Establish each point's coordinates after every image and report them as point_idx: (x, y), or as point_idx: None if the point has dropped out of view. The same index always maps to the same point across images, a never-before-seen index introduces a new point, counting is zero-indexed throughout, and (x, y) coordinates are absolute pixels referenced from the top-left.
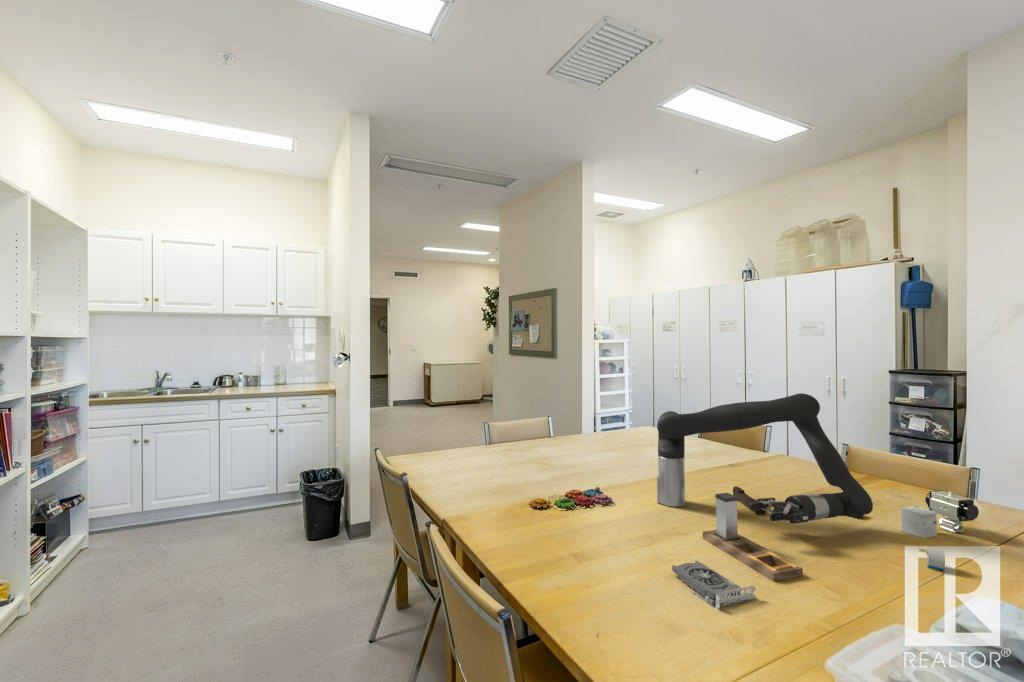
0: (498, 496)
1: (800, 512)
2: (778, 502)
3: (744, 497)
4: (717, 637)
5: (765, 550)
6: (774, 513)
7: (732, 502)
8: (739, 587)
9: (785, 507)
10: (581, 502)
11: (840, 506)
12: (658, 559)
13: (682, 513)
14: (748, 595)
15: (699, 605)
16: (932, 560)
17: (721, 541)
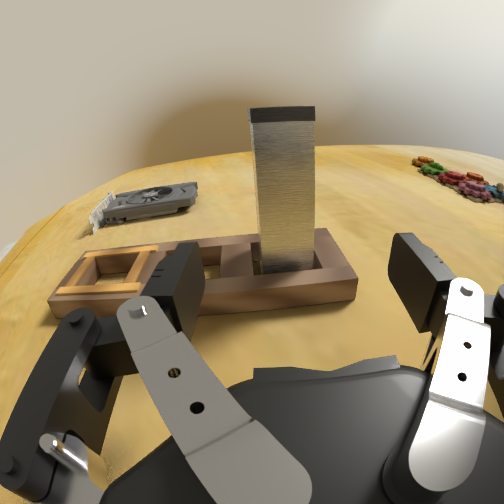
0: (438, 159)
1: (41, 429)
2: (430, 392)
3: None
4: (94, 201)
5: None
6: (176, 250)
7: (251, 127)
8: (104, 209)
9: (195, 356)
10: (443, 174)
11: None
12: (245, 192)
13: (490, 260)
14: (97, 222)
15: None
16: None
17: (254, 236)
